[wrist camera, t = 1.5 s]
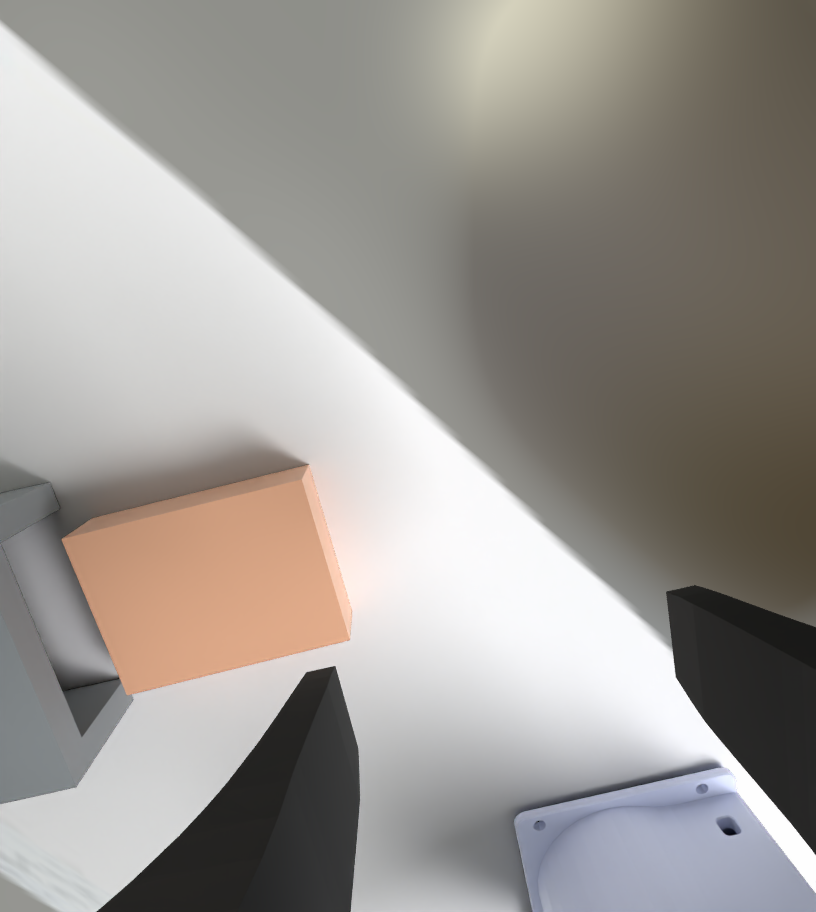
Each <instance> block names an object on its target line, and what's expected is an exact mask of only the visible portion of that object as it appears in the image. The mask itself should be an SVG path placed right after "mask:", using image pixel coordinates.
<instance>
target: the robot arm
mask: <svg viewBox="0 0 816 912" xmlns="http://www.w3.org/2000/svg"><path fill="white" fill-rule="evenodd" d="M666 594H667V603H668V611H669V621H670V629H671V638H672V647H673V656H674V665H675V673H676V678H677V680H678V681H679V683H680V684H681V686H682V687H683V689H684V691H685V692H686V694H687V695H688V697H689V698H690V700H691V702H692V703H693V705H694V706H695V708H696V709H697V710H698V712H699V713H700V715H701V716H702V718H703V719H704V721H705V722H706V723H707V725H708V726H709V727H710V728H711V729H712V731H713V732H714V733H715V734H716V735H717V737H718V738H719V739H720V740H721V741H722V743H723V744H724V745H725V746H726V747H727V749H728V750H729V751H730V752H731V753H732V755H733V756H734V757H735V758H736V759H737V760H738V762H739V763H740V764H741V765H742V766H743V768H744V769H745V770H746V771H747V772H748V773H749V775H750V776H751V777H752V778H753V779H754V780H755V782H756V783H757V784H758V785H759V786H760V788H761V789H762V790H763V791H764V792H765V793H766V795H767V796H768V797H769V798H770V799H771V800H772V802H773V803H774V804H775V805H776V806H777V807H778V809H779V810H780V811H781V812H782V813H783V815H784V816H785V817H786V818H787V819H788V820H789V822H790V823H791V824H792V825H793V827H794V828H795V829H796V830H797V832H798V833H799V834H800V835H801V837H802V838H803V839H804V840H805V842H806V843H807V844H808V845H809V847H810V848H811V849H812V851H813V852H814V853H815V855H816V627H813V626H810V625H808V624H805V623H802V622H799V621H796V620H793V619H790V618H787V617H785V616H782V615H779V614H776V613H774V612H771V611H768V610H765V609H763V608H760V607H757V606H754V605H752V604H749V603H746V602H743V601H740V600H738V599H735V598H732V597H730V596H727V595H724V594H721V593H718V592H715V591H712V590H709V589H706V588H703V587H699V586H696V585H694V586H690V587H686V588H681V589H677V590H672V591H667V592H666ZM700 784H701V785H700ZM698 785H700V786H698ZM697 786H698V787H697ZM359 803H360V784H359V755H358V746H357V742H356V739H355V735H354V731H353V728H352V724H351V721H350V717H349V714H348V710H347V706H346V703H345V699H344V696H343V692H342V689H341V685H340V681H339V678H338V674H337V671H336V667H335V666H333V667H329V668H324V669H320V670H315V671H311V672H306V674H305V675H304V677H303V678H302V680H301V681H300V682H299V684H298V685H297V687H296V688H295V690H294V691H293V693H292V694H291V696H290V697H289V699H288V700H287V702H286V703H285V705H284V706H283V708H282V709H281V711H280V712H279V714H278V715H277V717H276V718H275V719H274V721H273V722H272V724H271V725H270V727H269V728H268V729H267V731H266V732H265V734H264V735H263V737H262V738H261V739H260V741H259V742H258V744H257V745H256V746H255V748H254V749H253V750H252V751H251V753H250V754H249V755H248V757H247V758H246V759H245V760H244V762H243V763H242V764H241V766H240V767H239V768H238V769H237V771H236V772H235V773H234V775H233V776H232V777H231V778H230V780H229V781H228V782H227V784H226V785H225V786H224V787H223V788H222V789H221V791H220V792H219V793H218V794H217V795H216V796H215V798H214V799H213V800H212V801H211V802H210V803H209V805H208V806H207V807H206V808H205V809H204V810H203V811H202V812H201V813H200V814H199V815H198V816H197V818H196V819H195V820H194V821H193V822H192V823H191V824H190V825H189V826H188V827H187V828H186V829H185V830H184V831H183V832H182V833H181V834H180V836H179V837H178V838H177V839H175V840H174V841H173V842H172V843H171V844H170V845H169V846H168V847H167V848H166V849H165V850H164V851H163V852H162V853H161V854H160V855H159V856H158V857H157V858H156V859H155V860H153V861H152V862H151V863H150V864H149V865H148V866H147V867H146V868H145V869H144V870H143V871H142V872H141V873H140V874H139V875H138V876H137V877H136V878H135V879H134V880H133V881H131V882H130V883H129V884H128V885H127V886H126V887H125V888H124V889H122V890H121V891H120V892H119V893H118V894H117V895H115V896H114V897H113V898H112V899H111V900H110V901H108V902H107V903H106V904H105V905H104V906H103V907H102V908H100V909H99V910H98V911H97V912H350V911H351V900H352V888H353V876H354V865H355V853H356V841H357V829H358V817H359ZM536 821H540V822H536ZM514 825H515V830H516V835H517V839H518V844H519V849H520V854H521V859H522V864H523V868H524V873H525V878H526V883H527V888H528V893H529V897H530V902H531V907H532V912H816V893H815V892H814V891H813V889H812V888H811V887H810V885H809V884H808V883H807V882H806V880H805V879H804V878H803V876H802V875H801V874H800V873H799V871H798V870H797V869H796V867H795V866H794V865H793V864H792V862H791V861H790V860H789V858H788V857H787V856H786V855H785V853H784V852H783V851H782V849H781V848H780V847H779V845H778V844H777V843H776V842H775V840H774V839H773V838H772V836H771V835H770V834H769V833H768V831H767V830H766V829H765V827H764V826H763V825H762V824H761V822H760V821H759V820H758V818H757V817H756V816H755V815H754V813H753V812H752V811H751V809H750V808H749V807H748V806H747V804H746V803H745V802H744V800H743V799H742V798H741V797H740V795H739V794H738V793H737V784H736V778H735V776H734V775H733V774H732V772H731V771H730V770H729V769H727V768H724V767H722V768H715V769H711V770H706V771H702V772H697V773H693V774H688V775H684V776H680V777H675V778H671V779H666V780H662V781H657V782H653V783H648V784H644V785H640V786H635V787H631V788H626V789H622V790H617V791H613V792H608V793H604V794H600V795H595V796H591V797H586V798H582V799H577V800H573V801H568V802H564V803H559V804H555V805H551V806H546V807H542V808H537V809H533V810H528V811H524V812H521V813H519V814H518V815H517V816H516V818H515V820H514Z"/></svg>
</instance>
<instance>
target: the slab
mask: <svg viewBox="0 0 816 912" xmlns="http://www.w3.org/2000/svg"><path fill="white" fill-rule="evenodd" d="M61 540H62V542H63V545H64V547H65V549H66V552H67V554H68V557H69V559H70V561H71V564H72V566H73V568H74V571H75V573H76V576H77V578H78V580H79V583H80V585H81V587H82V590H83V592H84V595H85V597H86V599H87V602H88V604H89V606H90V609H91V611H92V614H93V616H94V618H95V621H96V623H97V625H98V628H99V630H100V633H101V635H102V637H103V640H104V642H105V644H106V647H107V649H108V652H109V654H110V656H111V659H112V661H113V663H114V666H115V668H116V671H117V673H118V675H119V678H120V680H121V682H122V685H123V687H124V690H125V692H126V694H127V695H131V694H135V693H139V692H143V691H147V690H151V689H155V688H159V687H163V686H167V685H171V684H175V683H179V682H183V681H187V680H191V679H195V678H199V677H203V676H207V675H211V674H215V673H220V672H224V671H228V670H232V669H236V668H240V667H244V666H248V665H252V664H256V663H260V662H264V661H268V660H272V659H276V658H280V657H284V656H288V655H292V654H296V653H300V652H304V651H308V650H312V649H316V648H320V647H324V646H328V645H332V644H336V643H340V642H344V641H348V640H350V632H351V620H352V609H351V606H350V602H349V599H348V596H347V592H346V589H345V585H344V582H343V579H342V575H341V572H340V568H339V565H338V562H337V558H336V555H335V551H334V548H333V545H332V541H331V538H330V534H329V531H328V527H327V524H326V521H325V517H324V514H323V510H322V507H321V504H320V500H319V497H318V493H317V490H316V487H315V483H314V480H313V476H312V473H311V470H310V466H309V464H308V465H304V466H300V467H296V468H292V469H288V470H284V471H280V472H276V473H272V474H268V475H264V476H260V477H256V478H252V479H248V480H244V481H240V482H236V483H232V484H228V485H224V486H220V487H216V488H212V489H208V490H203V491H199V492H195V493H191V494H187V495H183V496H179V497H175V498H171V499H167V500H163V501H159V502H155V503H151V504H147V505H143V506H139V507H135V508H131V509H127V510H123V511H119V512H115V513H111V514H107V515H103V516H99V517H95V518H92V519H90V520H89V521H87V522H86V523H84V524H83V525H81V526H80V527H78V528H77V529H75V530H74V531H72V532H71V533H70V534H68V535H67V536H65V537H64V538H62V539H61Z"/></svg>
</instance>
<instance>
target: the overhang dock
mask: <svg viewBox="0 0 816 912" xmlns="http://www.w3.org/2000/svg"><path fill="white" fill-rule="evenodd" d="M59 509H60V507H59V504H58V502H57V499H56V496H55V494H54V491H53V489H52V486H51V483H50V482H49V483H44V484H39V485H35V486H30V487H26V488H21V489H17V490H12V491H8V492H3V493H0V804H3V803H8V802H12V801H17V800H21V799H26V798H30V797H35V796H39V795H44V794H48V793H53V792H57V791H62V790H66V789H70V788H75V787H77V785H78V784H79V782H80V781H81V779H82V778H83V776H84V775H85V773H86V772H87V770H88V768H89V767H90V765H91V764H92V762H93V761H94V759H95V758H96V756H97V755H98V753H99V752H100V750H101V749H102V747H103V746H104V744H105V742H106V741H107V739H108V738H109V736H110V735H111V733H112V732H113V730H114V729H115V727H116V726H117V724H118V723H119V721H120V720H121V718H122V716H123V715H124V713H125V712H126V710H127V709H128V707H129V706H130V704H131V703H132V701H133V697H132V695H127V694H126V692H125V690H124V687H123V685H122V682H121V680H120V679H117V680H112V681H108V682H103V683H99V684H94V685H90V686H85V687H81V688H76V689H72V690H67V691H63V692H62V689H61V687H60V684H59V682H58V680H57V677H56V675H55V672H54V670H53V668H52V665H51V663H50V660H49V658H48V656H47V653H46V651H45V648H44V646H43V644H42V641H41V639H40V636H39V634H38V632H37V629H36V627H35V624H34V622H33V620H32V617H31V615H30V612H29V610H28V608H27V605H26V603H25V600H24V598H23V596H22V593H21V591H20V588H19V586H18V584H17V581H16V579H15V576H14V574H13V572H12V569H11V567H10V564H9V562H8V560H7V557H6V555H5V552H4V550H3V548H2V545H1V542H3V541H5V540H6V539H8V538H10V537H12V536H13V535H15V534H17V533H19V532H20V531H22V530H24V529H26V528H27V527H29V526H31V525H32V524H34V523H36V522H38V521H39V520H41V519H43V518H45V517H46V516H48V515H50V514H52V513H53V512H55V511H57V510H59Z"/></svg>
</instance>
